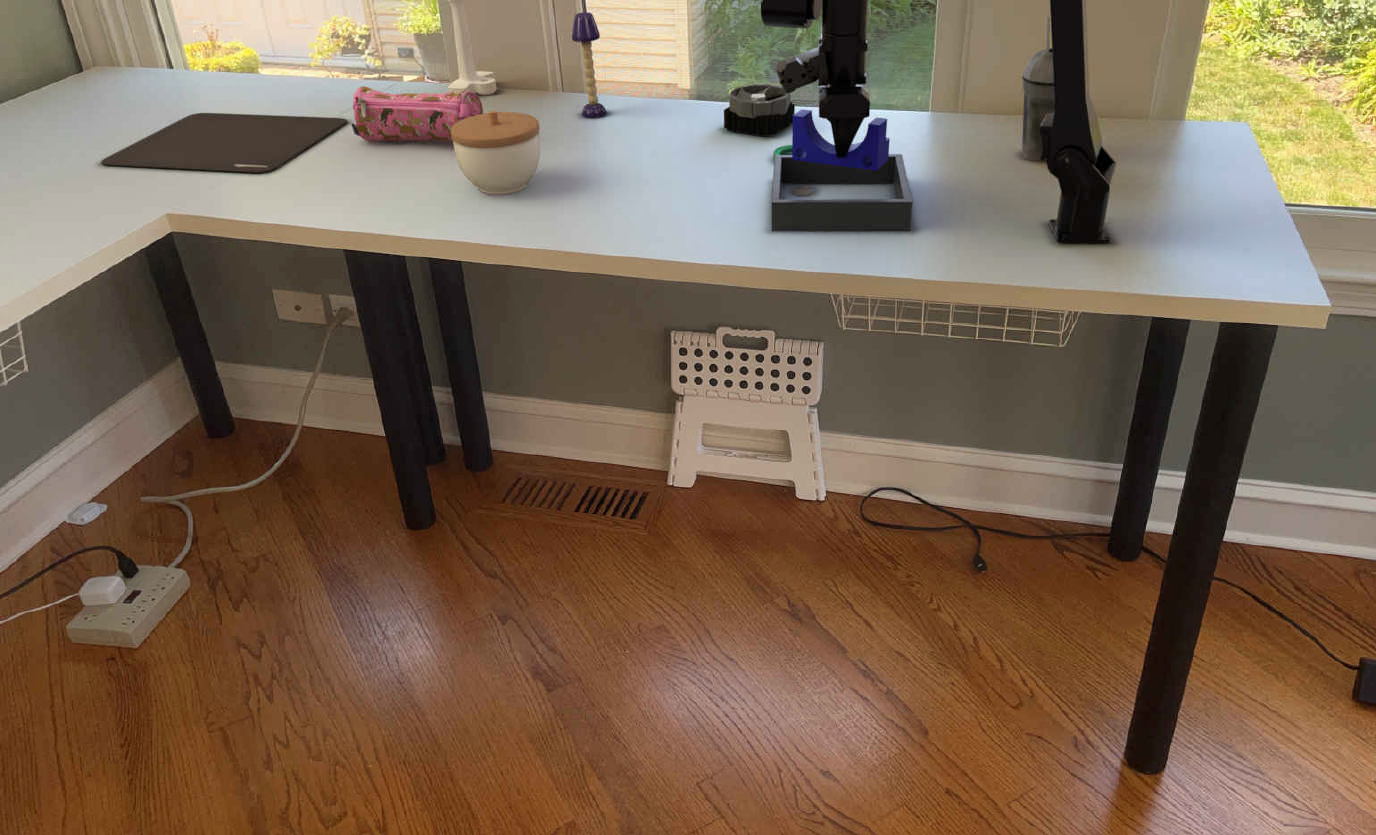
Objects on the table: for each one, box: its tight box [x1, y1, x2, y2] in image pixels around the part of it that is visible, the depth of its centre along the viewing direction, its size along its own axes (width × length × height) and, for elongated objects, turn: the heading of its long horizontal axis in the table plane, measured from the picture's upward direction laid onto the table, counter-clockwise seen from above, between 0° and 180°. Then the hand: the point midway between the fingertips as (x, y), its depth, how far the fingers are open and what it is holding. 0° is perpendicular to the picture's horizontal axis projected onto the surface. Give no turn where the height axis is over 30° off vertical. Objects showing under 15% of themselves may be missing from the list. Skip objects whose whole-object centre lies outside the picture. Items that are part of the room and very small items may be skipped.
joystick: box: [446, 0, 497, 96], centre depth 199 cm, size 11×8×20 cm
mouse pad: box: [100, 112, 348, 174], centre depth 185 cm, size 32×27×1 cm
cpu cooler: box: [723, 83, 796, 137], centre depth 179 cm, size 10×6×10 cm
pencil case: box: [351, 85, 484, 144], centre depth 179 cm, size 21×9×9 cm, turn 74°
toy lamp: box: [571, 11, 607, 119], centre depth 186 cm, size 5×5×17 cm
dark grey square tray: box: [770, 153, 913, 232], centre depth 150 cm, size 18×18×4 cm
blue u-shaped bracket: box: [791, 109, 890, 171], centre depth 147 cm, size 12×4×6 cm, turn 62°
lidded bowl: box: [451, 110, 541, 195], centre depth 160 cm, size 13×13×11 cm
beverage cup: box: [1021, 16, 1055, 162], centre depth 159 cm, size 7×7×20 cm
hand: (840, 150), depth 147 cm, fingers closed on blue u-shaped bracket, 5 cm apart
